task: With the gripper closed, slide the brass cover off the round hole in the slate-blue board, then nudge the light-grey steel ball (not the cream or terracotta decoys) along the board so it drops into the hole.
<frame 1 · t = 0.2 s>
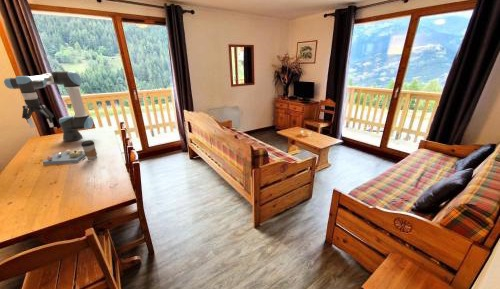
hand: (42, 127, 157), 28 cm above the table, fingers open, 13 cm apart
steel ball: (59, 154, 167), point 4 cm above the table, touching board
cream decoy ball: (68, 151, 173), point 4 cm above the table, touching board
brass cover: (75, 153, 169), point 5 cm above the table, slide at 0.0 cm
board: (67, 158, 169), on the table
coffee cup: (92, 159, 169), on the table
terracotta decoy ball: (49, 158, 161), point 4 cm above the table, touching board
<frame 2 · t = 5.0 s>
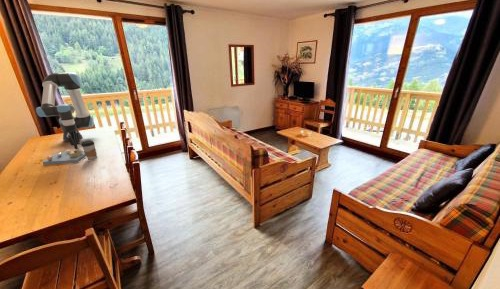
hand: (78, 151, 172), 4 cm above the table, fingers closed
brass cover: (75, 153, 168), point 5 cm above the table, slide at 0.2 cm, touching gripper
everything else where it was.
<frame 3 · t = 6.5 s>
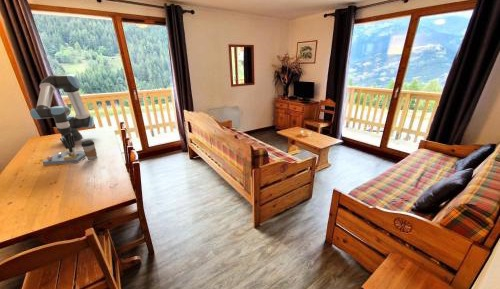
hand: (73, 155, 166), 4 cm above the table, fingers closed
brass cover: (70, 156, 163), point 5 cm above the table, slide at 6.6 cm, touching gripper
everything else where it was.
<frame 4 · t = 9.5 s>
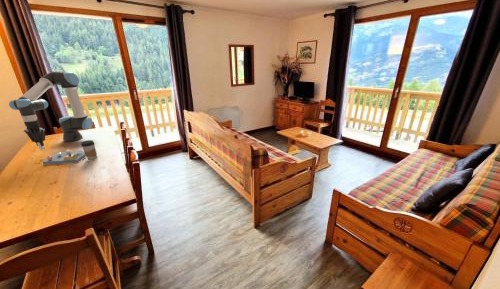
hand: (42, 149, 163), 9 cm above the table, fingers closed
brass cover: (70, 156, 162), point 5 cm above the table, slide at 6.7 cm
everything else where it was.
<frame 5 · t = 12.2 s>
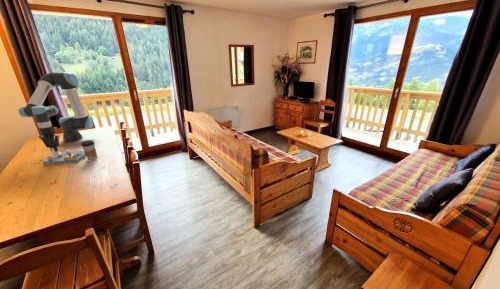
hand: (56, 155, 167), 4 cm above the table, fingers closed
steel ball: (59, 154, 167), point 4 cm above the table, tilted 8°, touching board, gripper
everything else where it was.
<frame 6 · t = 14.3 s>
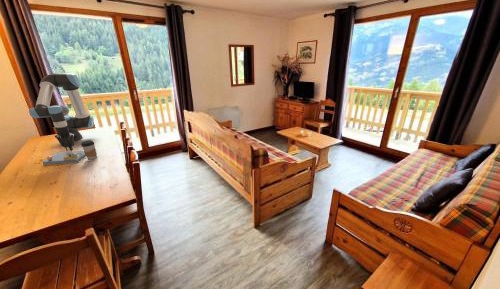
hand: (71, 154, 168), 4 cm above the table, fingers closed
steel ball: (77, 156, 170), point 2 cm above the table, tilted 89°
everything else where it was.
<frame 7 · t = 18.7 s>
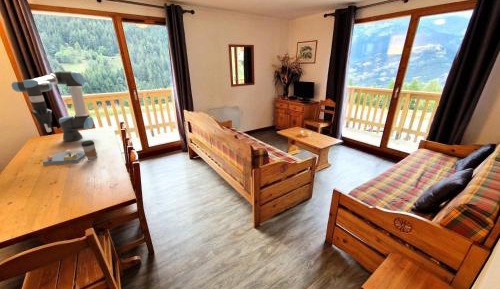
hand: (49, 131, 164), 22 cm above the table, fingers closed
steel ball: (76, 156, 170), point 2 cm above the table, tilted 58°
everything else where it was.
at the end: steel ball 0.3 cm from the target spot in the board, point 1.6 cm above the board's base; brass cover slide at 6.7 cm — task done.
